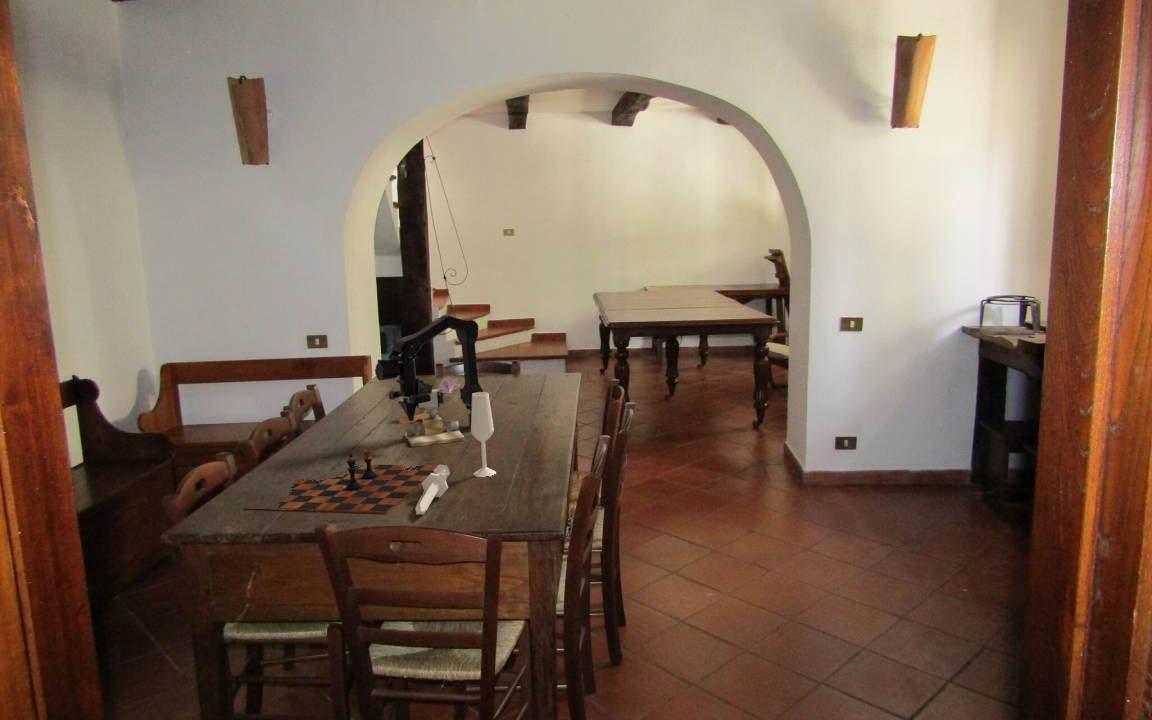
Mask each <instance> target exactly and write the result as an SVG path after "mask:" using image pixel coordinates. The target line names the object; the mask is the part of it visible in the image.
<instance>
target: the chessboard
mask: <svg viewBox="0 0 1152 720" xmlns="http://www.w3.org/2000/svg"><path fill="white" fill-rule="evenodd" d="M362 451H363V455H364V456H365V457H364V458H363V460H364V462H365V463H366V465H367V466H366V467H363V466H365V465H362V466H360V467H358V466H359V465H358V466H354V465H356V464H357V463H356V462H357V461H356V459H355V457H353V454H352V453H349V455H348V458H347V460H346V464H348V465H349V467H350V468H348V469H347V470H345V471H349V472H348V473H347V474H345V475H344V477H338V476H337V477H336V478H331V480H329V479H327V478H324V480H320V482H318V481H316V480H314V479H313V481H312V480H309V479H308V478H307V480H304V479H301V481H300V480H299V479H296V480H295V483H293V484H294V486H292V487H291V488H293V489H292V490H290V491H292V492H289V493H291V494H289V496H290V498H288V499H289V500H290V501H289V502H286V503H285V500H283V501H281V502H280V503H279V504H280V505H279V507H278V508H282V509H293V510H311V511H310V512H313V511H316V510H317V511H333V512H332V513H345V512H360V513H359V514H377V513H379V514H381V515H382V514H383V515H387V514H388V513H389V512H391V511H392V510H393V509H394V508H395V507H396V506H397V505H398V504H400V503H401V502H402V501H403V500H404V499H405V498H406V497H408V496H409V495H410V494H411V493H412V492H413V491H414V490H416V489H417V488H418V487H419V486H420V485H422V482H423V481H424V480H425V479H426V478H427V477H428V476H429V475H430V474H431V473H434V470H435V469H436V467H437V466H438V465H428V464H427V465H421V464H419V465H420V466H416V467H415V468H412V469H411V470H410V471H408V470H409V469H410V468H411V467H412V466H411V467H410V468H406V469H405V467H404V468H403V466H404V465H405V464H375V463H374V464H373V463H372V459H373V456H371V455H372V452H373V449H369V448H368V449H364V450H362ZM371 464H372V465H371ZM399 465H400V466H399ZM402 465H403V466H402ZM401 466H402V467H401ZM357 467H358V468H357ZM361 467H363V468H361ZM402 468H403V469H402ZM416 468H417V469H416ZM404 469H405V470H404ZM415 469H416V470H415ZM414 470H415V471H414ZM434 474H435V473H434ZM296 482H298V483H296ZM416 487H417V488H416ZM408 494H409V495H408ZM407 495H408V496H407ZM253 502H254V503H253ZM253 502H251V503H252V504H251V503H250V504H251V505H249V504H248V505H249V506H248V505H247V506H248V507H252V506H253V505H254V504H255V501H253ZM258 505H259V503H258V504H257V505H255V506H257V508H258ZM255 506H254V507H255ZM312 510H313V511H312ZM379 514H378V515H379Z"/></svg>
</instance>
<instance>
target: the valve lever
mask: <svg viewBox="0 0 1152 720" xmlns="http://www.w3.org/2000/svg"><path fill="white" fill-rule="evenodd" d="M436 411H437V410H436ZM436 411H428V412H427V413H424V412H423V413H420V414H419V413H418V414H414V421H410V420H409V418H408V417H407V415H405V416H400V417H398V422H399V423H400V424H403V425H404V424H409V423H414V422H417V420H418V421H419V420H422V419H423V418H434V417H436Z"/></svg>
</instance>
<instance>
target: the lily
mask: <svg viewBox="0 0 1152 720" xmlns="http://www.w3.org/2000/svg"><path fill="white" fill-rule="evenodd" d="M457 380H458V378H455V379H453V380H451V381H449V380H448V379H446V378H442V380H441V383H440V384H441V385H440V386H441V387H438V389H442V392H443V393H445V394H446V397H449V398H451V399H452V401H453V400H454V401H455V399H454V398H453V395H452V394H453V391H454V390H455V389H457V388H461V384H458V383H457ZM450 396H451V397H450Z"/></svg>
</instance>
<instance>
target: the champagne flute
mask: <svg viewBox="0 0 1152 720" xmlns="http://www.w3.org/2000/svg"><path fill="white" fill-rule="evenodd" d="M490 404H491V402H490V394H489V392H486V391H483V392H478V393H473V394H472V413H471V426H470V433H471V435H472V436H473V437H474V438H475V439H476V440H477V441H478V442H480V444H481V445H480V446H481V459H482V460H481V461H482V462H481V464H482V467H481V468H480V469H478V470H476V471H475V472H473V476H474V475H475V476H474V477H478V478H487V477H486V476H489V477H493V476H495V475H496V474H497V472H496V471H495V470H494V469H491V468H489V467H487V452H486V451H487V450H486V449H487V448H486V442H487V441H488V440H489V439H490V437H492V435H493V434H494V432H495V428H494V421H493V415H492V409H491V408H492V406H491V407H490ZM494 474H495V475H494ZM492 475H493V476H492Z"/></svg>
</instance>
